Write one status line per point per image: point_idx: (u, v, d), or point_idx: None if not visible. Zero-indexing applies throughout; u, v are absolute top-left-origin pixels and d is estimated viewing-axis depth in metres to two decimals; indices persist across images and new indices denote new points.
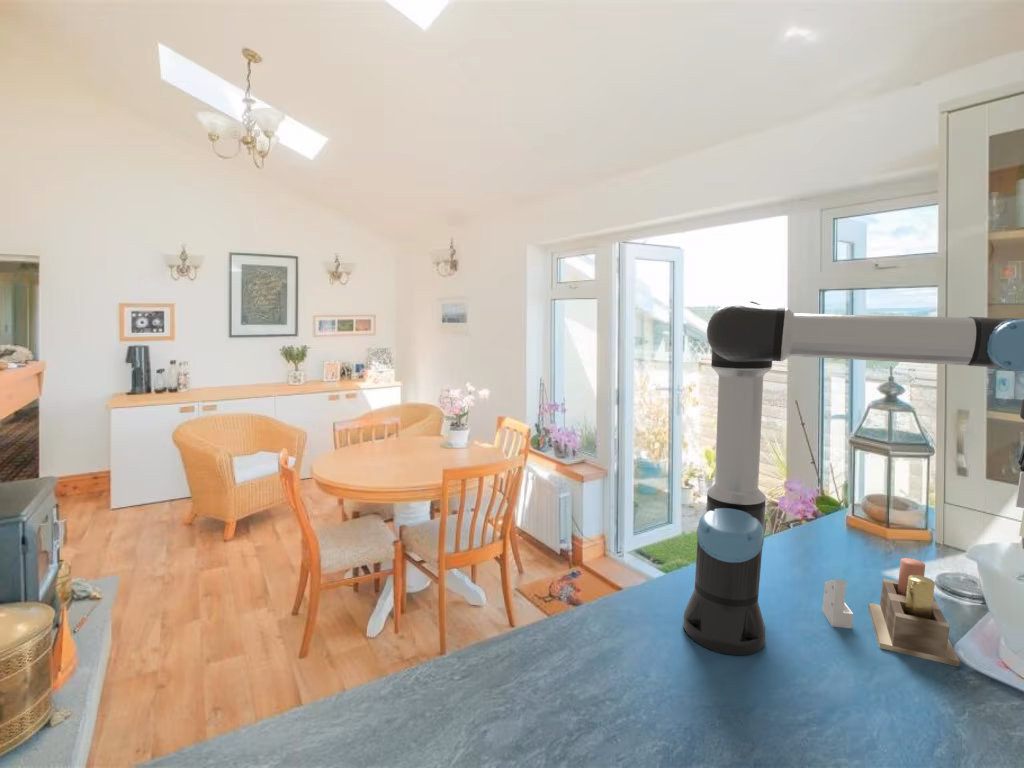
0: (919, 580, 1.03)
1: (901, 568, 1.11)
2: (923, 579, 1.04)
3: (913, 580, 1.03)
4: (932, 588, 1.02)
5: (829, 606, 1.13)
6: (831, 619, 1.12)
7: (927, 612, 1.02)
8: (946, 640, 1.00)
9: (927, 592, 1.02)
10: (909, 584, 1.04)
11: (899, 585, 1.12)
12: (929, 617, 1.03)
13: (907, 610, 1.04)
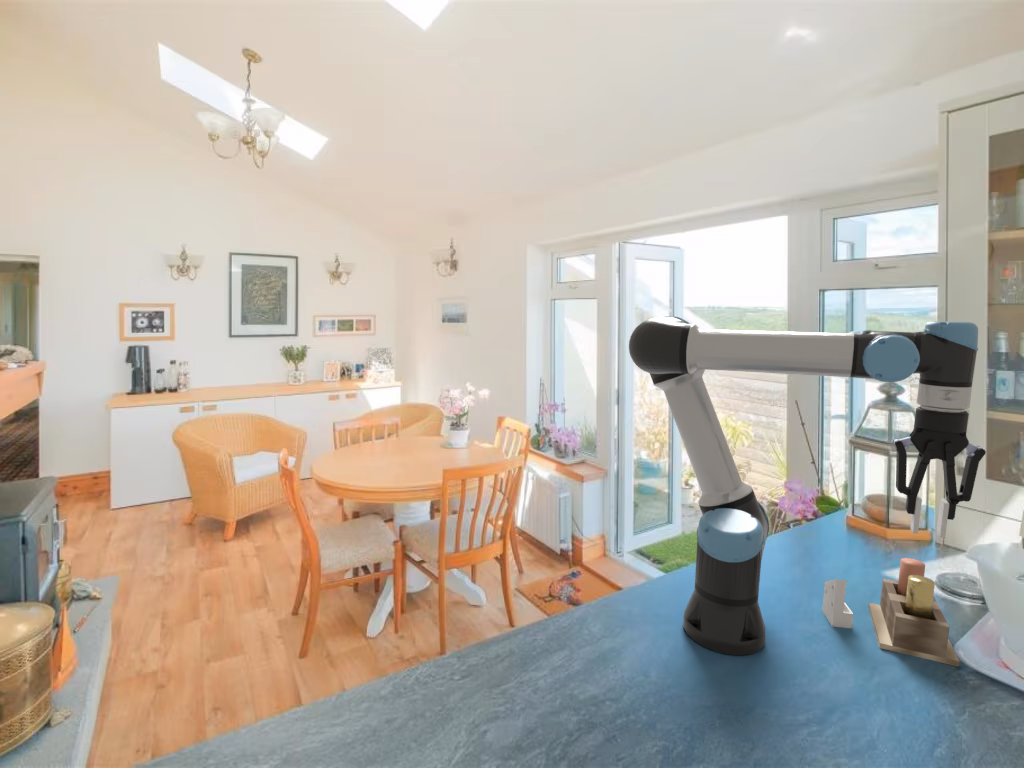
0: (919, 580, 1.03)
1: (901, 568, 1.11)
2: (923, 579, 1.04)
3: (913, 580, 1.03)
4: (932, 588, 1.02)
5: (829, 606, 1.13)
6: (831, 619, 1.12)
7: (927, 612, 1.02)
8: (946, 640, 1.00)
9: (927, 592, 1.02)
10: (909, 584, 1.04)
11: (899, 585, 1.12)
12: (929, 617, 1.03)
13: (907, 610, 1.04)
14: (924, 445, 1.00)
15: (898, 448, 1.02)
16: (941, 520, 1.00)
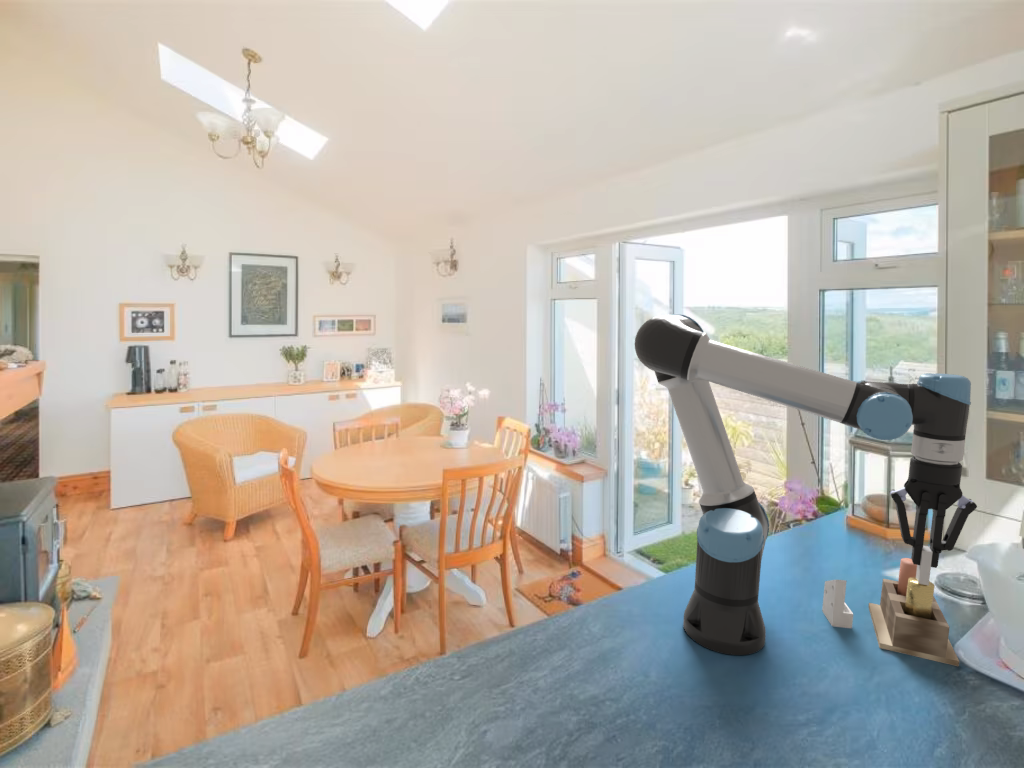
0: None
1: (901, 568, 1.11)
2: None
3: (913, 582, 1.03)
4: (932, 590, 1.02)
5: (829, 606, 1.13)
6: (831, 619, 1.12)
7: (927, 614, 1.02)
8: (946, 640, 1.00)
9: (927, 595, 1.02)
10: (909, 586, 1.04)
11: (899, 585, 1.12)
12: None
13: (907, 612, 1.04)
14: (919, 496, 1.01)
15: (895, 500, 1.03)
16: None
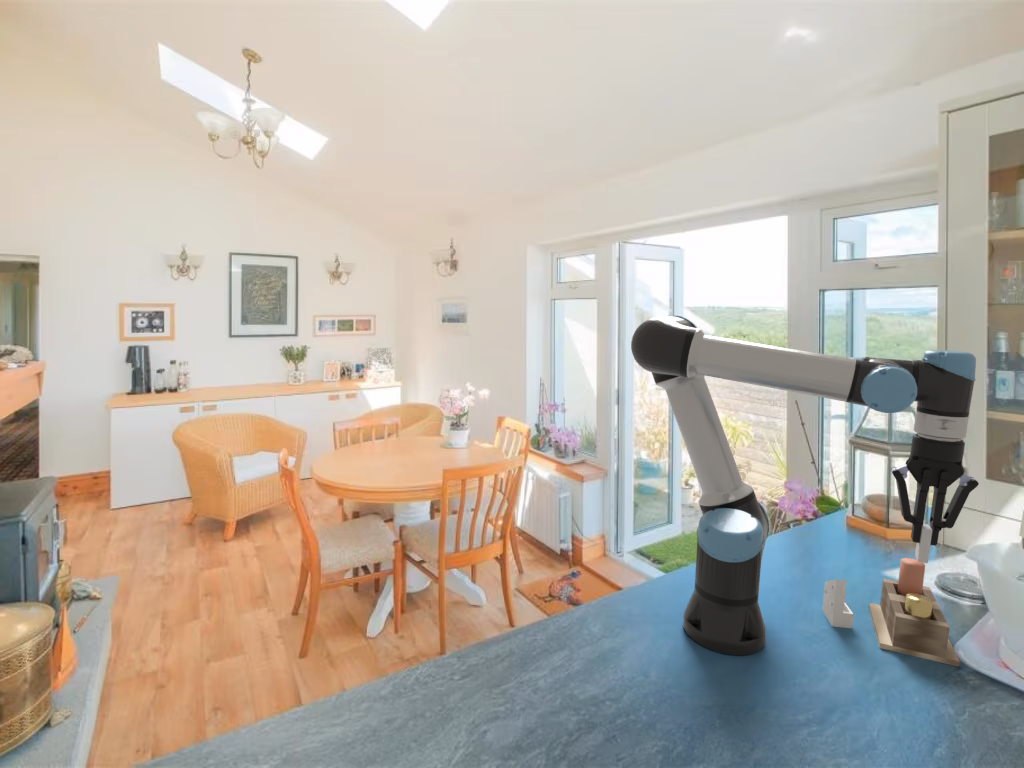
0: (917, 599, 1.04)
1: (901, 568, 1.11)
2: (920, 598, 1.04)
3: (911, 599, 1.04)
4: (930, 607, 1.02)
5: (829, 606, 1.13)
6: (831, 619, 1.12)
7: None
8: (946, 640, 1.00)
9: (925, 611, 1.02)
10: (907, 602, 1.04)
11: (899, 585, 1.12)
12: None
13: None
14: (920, 473, 1.01)
15: (896, 477, 1.02)
16: None
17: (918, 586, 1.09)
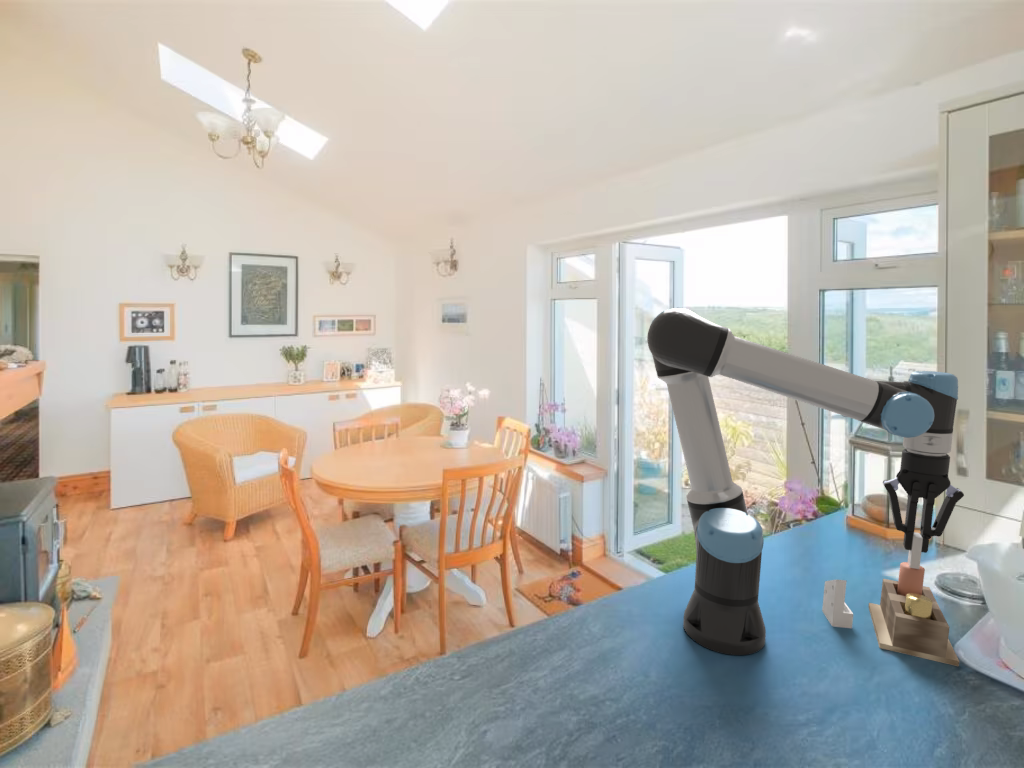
0: (917, 599, 1.04)
1: (901, 572, 1.11)
2: (920, 598, 1.04)
3: (911, 599, 1.04)
4: (930, 607, 1.02)
5: (829, 606, 1.13)
6: (831, 619, 1.12)
7: None
8: (946, 640, 1.00)
9: (925, 611, 1.02)
10: (907, 602, 1.04)
11: (899, 589, 1.12)
12: None
13: None
14: (910, 486, 1.08)
15: (888, 490, 1.10)
16: None
17: (917, 590, 1.09)
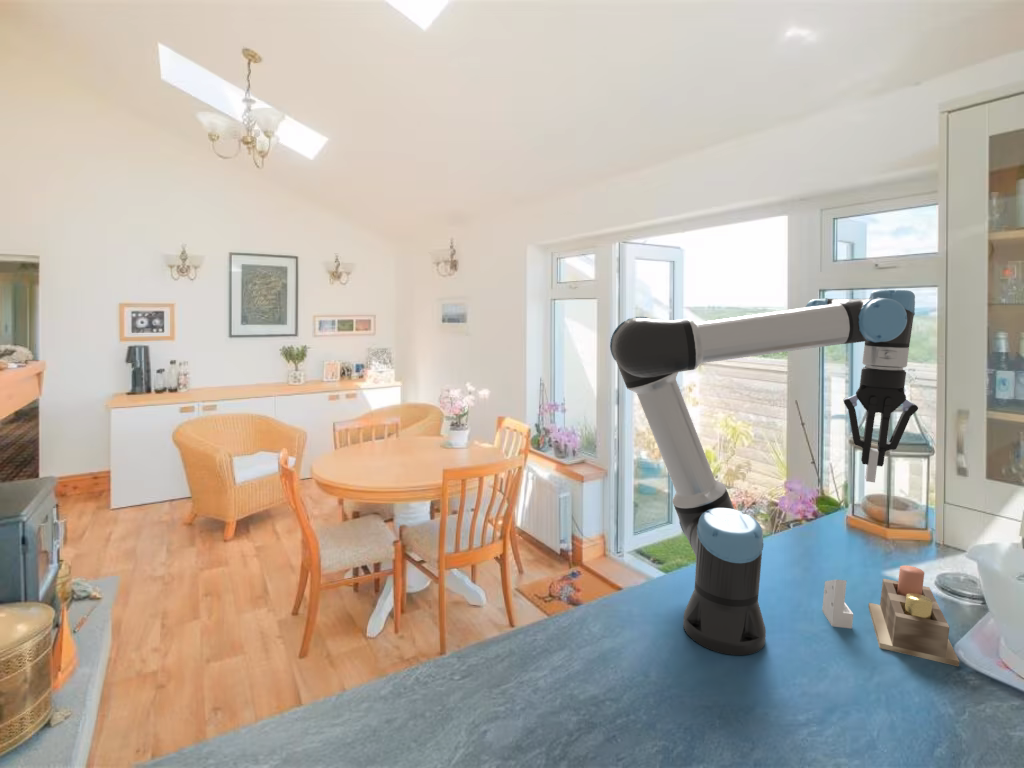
0: (917, 599, 1.04)
1: (900, 576, 1.11)
2: (920, 598, 1.04)
3: (911, 599, 1.04)
4: (930, 607, 1.02)
5: (829, 606, 1.13)
6: (831, 619, 1.12)
7: None
8: (946, 640, 1.00)
9: (925, 611, 1.02)
10: (907, 602, 1.04)
11: (898, 592, 1.12)
12: None
13: None
14: (868, 401, 1.13)
15: (847, 405, 1.14)
16: None
17: None
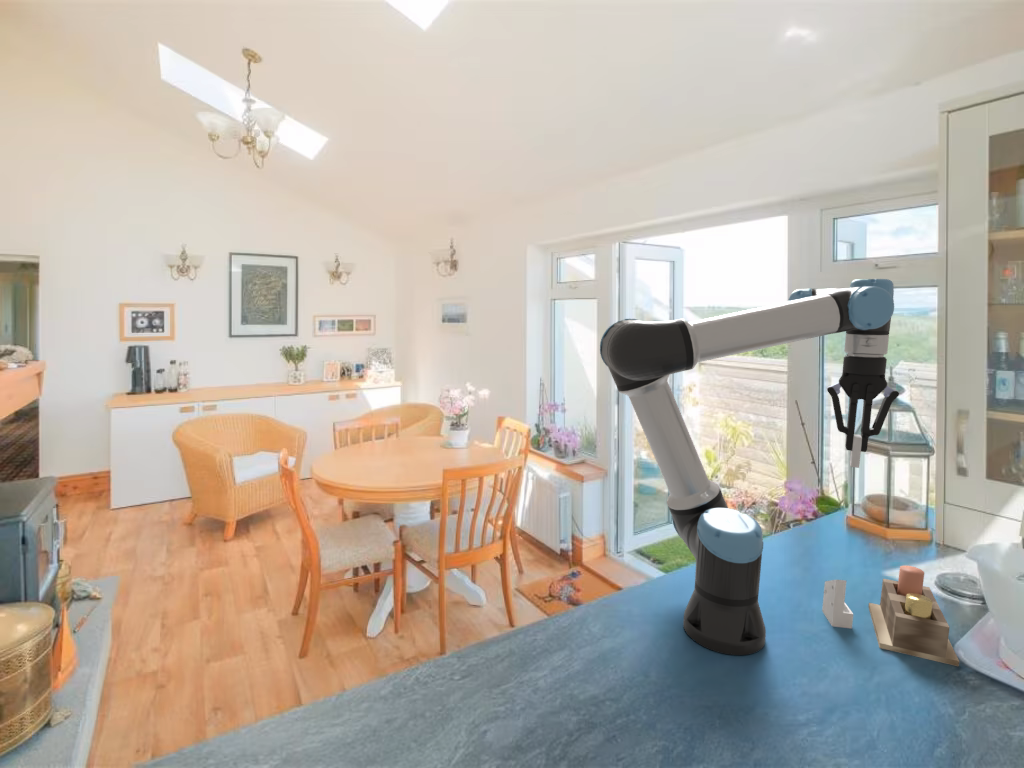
0: (917, 599, 1.04)
1: (900, 576, 1.11)
2: (920, 598, 1.04)
3: (911, 599, 1.04)
4: (930, 607, 1.02)
5: (829, 606, 1.13)
6: (831, 619, 1.12)
7: None
8: (946, 640, 1.00)
9: (925, 611, 1.02)
10: (907, 602, 1.04)
11: (898, 592, 1.12)
12: None
13: None
14: (850, 388, 1.15)
15: (830, 393, 1.17)
16: None
17: None
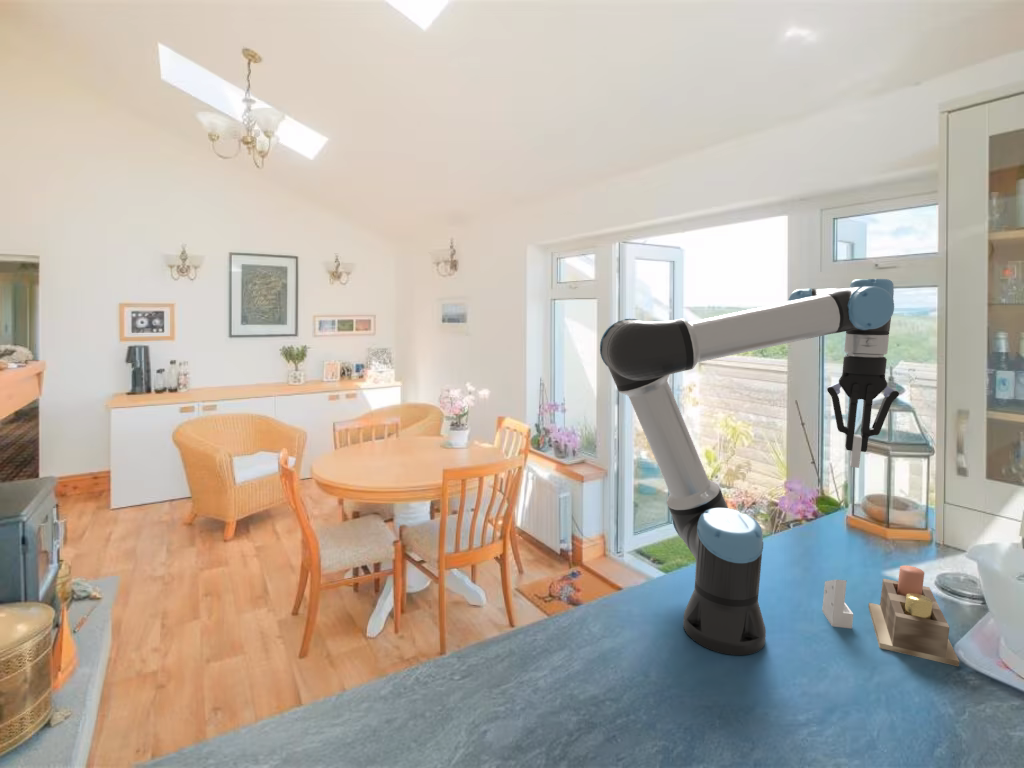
0: (917, 599, 1.04)
1: (900, 576, 1.11)
2: (920, 598, 1.04)
3: (911, 599, 1.04)
4: (930, 607, 1.02)
5: (829, 606, 1.13)
6: (831, 619, 1.12)
7: None
8: (946, 640, 1.00)
9: (925, 611, 1.02)
10: (907, 602, 1.04)
11: (898, 592, 1.12)
12: None
13: None
14: (850, 388, 1.15)
15: (830, 393, 1.17)
16: None
17: None
